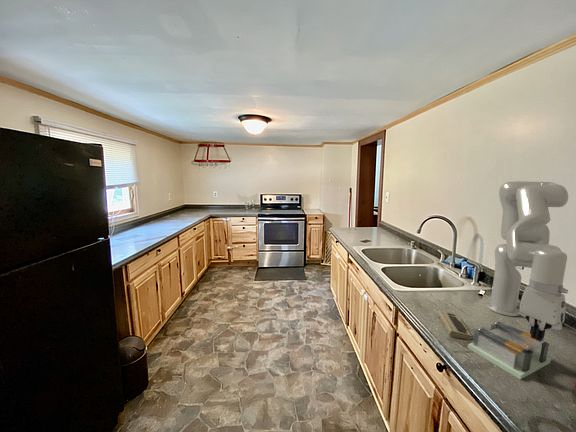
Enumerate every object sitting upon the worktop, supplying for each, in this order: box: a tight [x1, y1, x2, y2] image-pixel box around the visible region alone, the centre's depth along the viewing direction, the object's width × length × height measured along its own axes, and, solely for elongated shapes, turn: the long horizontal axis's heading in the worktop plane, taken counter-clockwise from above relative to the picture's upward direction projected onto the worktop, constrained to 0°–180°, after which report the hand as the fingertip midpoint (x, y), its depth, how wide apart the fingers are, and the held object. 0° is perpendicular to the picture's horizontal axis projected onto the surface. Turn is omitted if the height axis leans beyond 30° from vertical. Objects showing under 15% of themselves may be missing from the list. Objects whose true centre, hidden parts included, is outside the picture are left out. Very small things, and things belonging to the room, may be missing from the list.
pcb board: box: [467, 342, 552, 380], centre depth 91 cm, size 18×16×2 cm
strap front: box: [477, 327, 527, 353], centre depth 88 cm, size 2×14×1 cm, turn 23°
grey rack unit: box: [472, 321, 550, 372], centre depth 90 cm, size 16×15×6 cm
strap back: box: [493, 321, 545, 343], centre depth 92 cm, size 2×14×1 cm, turn 23°
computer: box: [437, 310, 474, 341], centre depth 108 cm, size 16×8×3 cm, turn 165°
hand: (536, 338), depth 87 cm, fingers closed
